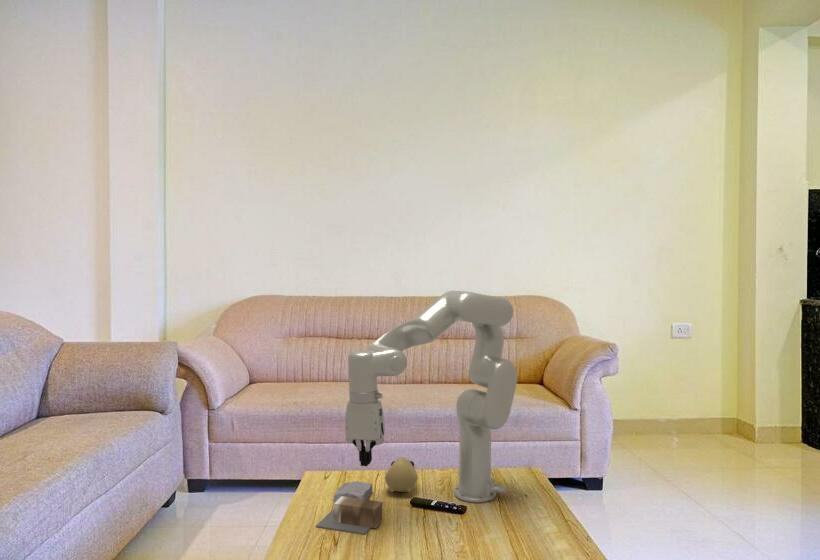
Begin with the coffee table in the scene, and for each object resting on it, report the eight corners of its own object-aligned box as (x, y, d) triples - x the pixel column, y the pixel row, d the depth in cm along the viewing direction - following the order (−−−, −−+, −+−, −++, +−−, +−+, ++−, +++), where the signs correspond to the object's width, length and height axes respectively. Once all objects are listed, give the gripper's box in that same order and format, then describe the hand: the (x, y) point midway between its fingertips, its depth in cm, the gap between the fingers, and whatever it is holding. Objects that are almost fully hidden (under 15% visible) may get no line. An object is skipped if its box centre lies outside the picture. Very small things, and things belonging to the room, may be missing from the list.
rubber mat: (381, 515, 158) (381, 513, 158) (365, 534, 146) (365, 533, 146) (335, 508, 162) (335, 507, 162) (315, 527, 151) (315, 525, 151)
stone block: (332, 512, 164) (365, 508, 163) (329, 495, 165) (362, 491, 163) (344, 497, 176) (375, 493, 174) (341, 481, 176) (372, 477, 175)
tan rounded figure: (419, 484, 181) (419, 450, 180) (416, 499, 169) (416, 463, 168) (388, 482, 182) (388, 449, 181) (383, 498, 170) (383, 462, 169)
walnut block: (382, 501, 154) (341, 496, 158) (375, 509, 149) (333, 503, 153) (382, 520, 154) (341, 514, 158) (375, 528, 149) (333, 521, 153)
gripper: (394, 394, 154) (396, 461, 154) (343, 392, 158) (345, 457, 159) (385, 401, 146) (387, 472, 147) (331, 399, 151) (334, 467, 152)
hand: (365, 464), depth 153 cm, fingers closed
